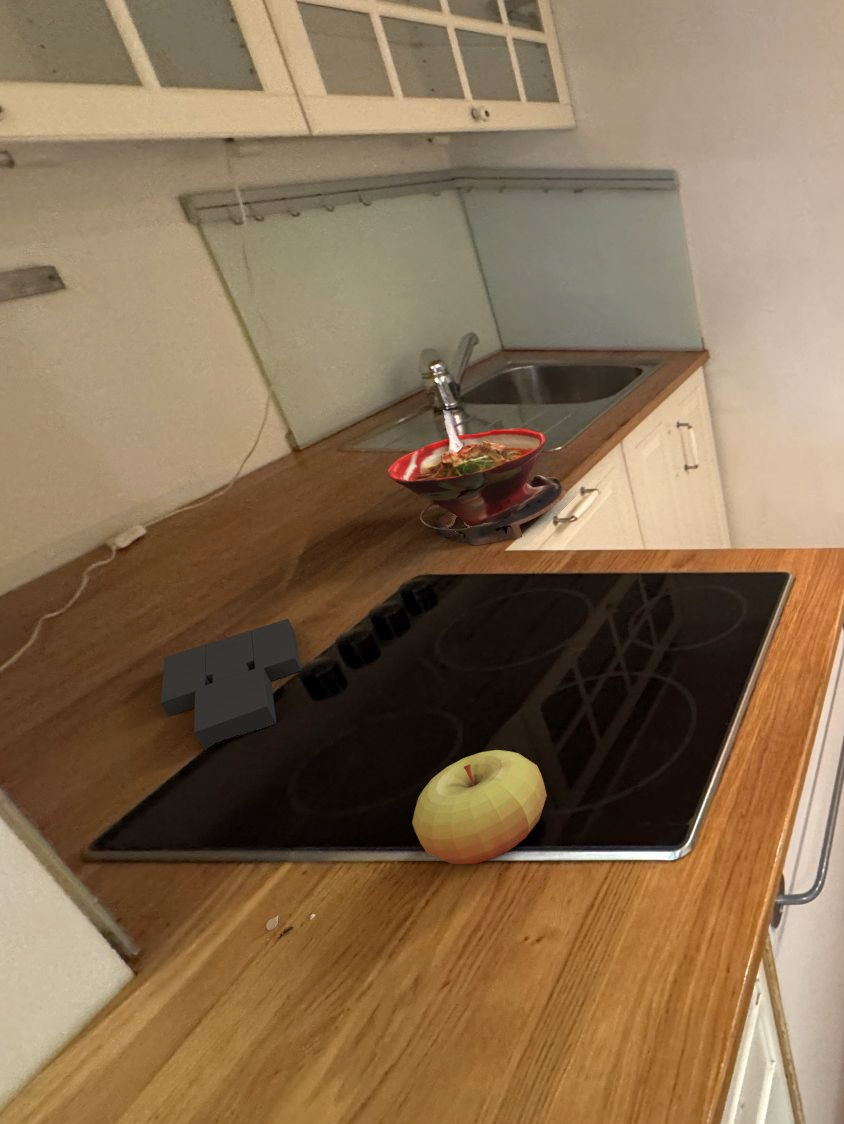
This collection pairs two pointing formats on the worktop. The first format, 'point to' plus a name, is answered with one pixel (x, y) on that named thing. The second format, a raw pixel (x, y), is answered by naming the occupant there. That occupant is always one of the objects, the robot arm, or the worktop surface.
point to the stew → (480, 481)
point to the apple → (479, 807)
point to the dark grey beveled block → (233, 704)
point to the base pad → (228, 662)
